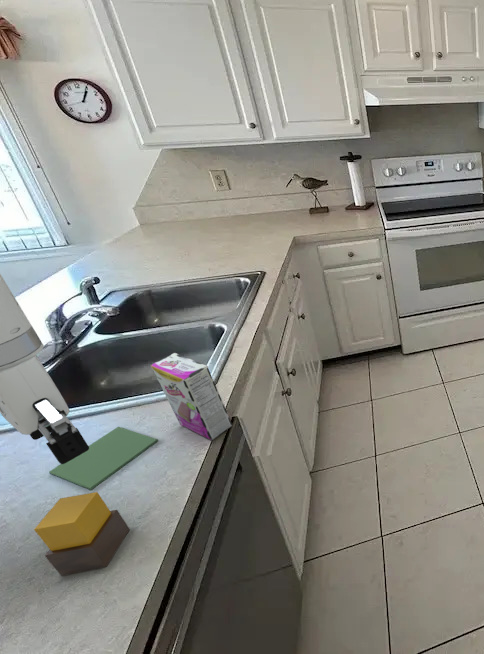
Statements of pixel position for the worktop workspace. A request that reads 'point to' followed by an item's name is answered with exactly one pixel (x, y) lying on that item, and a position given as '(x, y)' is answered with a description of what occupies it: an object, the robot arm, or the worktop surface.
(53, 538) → the mustard block
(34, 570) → the worktop surface
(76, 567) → the walnut block
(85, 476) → the green mat
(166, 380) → the candy bar box
